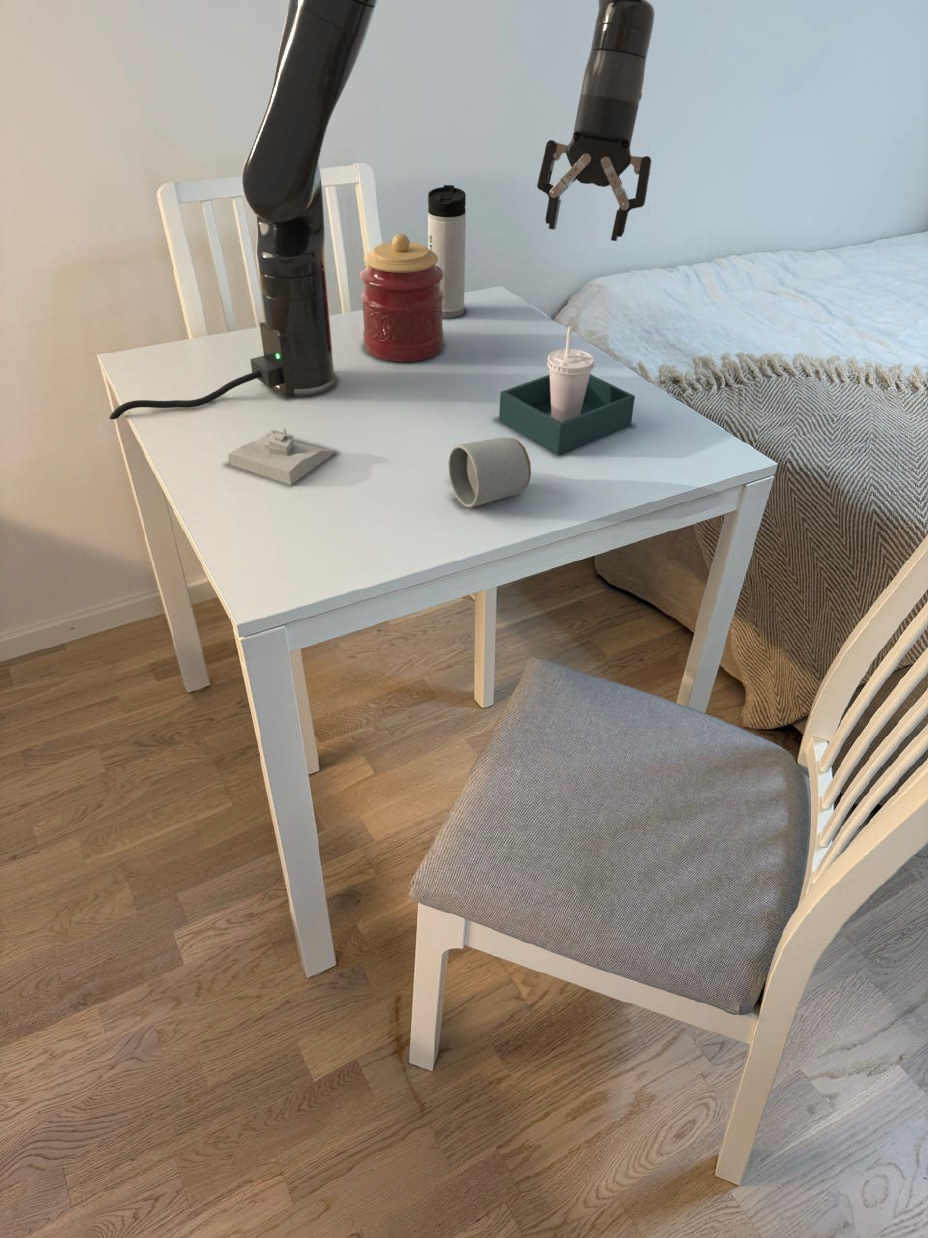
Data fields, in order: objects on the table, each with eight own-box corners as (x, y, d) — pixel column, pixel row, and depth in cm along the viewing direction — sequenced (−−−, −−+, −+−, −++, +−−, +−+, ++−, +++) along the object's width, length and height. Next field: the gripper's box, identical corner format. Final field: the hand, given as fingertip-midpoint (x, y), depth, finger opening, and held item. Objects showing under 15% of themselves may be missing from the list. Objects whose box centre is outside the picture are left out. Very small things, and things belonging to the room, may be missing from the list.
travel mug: (465, 305, 159) (468, 185, 146) (462, 319, 154) (464, 196, 141) (431, 303, 159) (430, 183, 146) (426, 317, 154) (425, 194, 141)
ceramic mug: (533, 501, 109) (537, 446, 104) (476, 519, 106) (477, 462, 101) (489, 464, 116) (491, 410, 112) (434, 479, 113) (434, 425, 108)
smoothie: (539, 413, 128) (546, 317, 119) (582, 412, 128) (593, 316, 119) (545, 434, 123) (554, 336, 114) (591, 433, 123) (603, 335, 114)
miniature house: (339, 445, 119) (337, 420, 117) (308, 487, 111) (305, 461, 109) (257, 433, 122) (253, 408, 119) (221, 474, 113) (216, 448, 111)
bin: (557, 455, 118) (560, 425, 115) (498, 420, 126) (500, 391, 123) (630, 425, 125) (635, 395, 122) (571, 394, 132) (573, 365, 130)
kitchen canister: (409, 324, 152) (406, 216, 140) (459, 348, 144) (461, 235, 133) (348, 344, 145) (340, 232, 133) (398, 370, 138) (394, 254, 126)
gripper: (550, 84, 109) (526, 226, 117) (664, 102, 107) (633, 245, 115) (559, 91, 116) (536, 224, 123) (666, 108, 114) (636, 242, 121)
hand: (583, 234), depth 119 cm, fingers open, 8 cm apart
